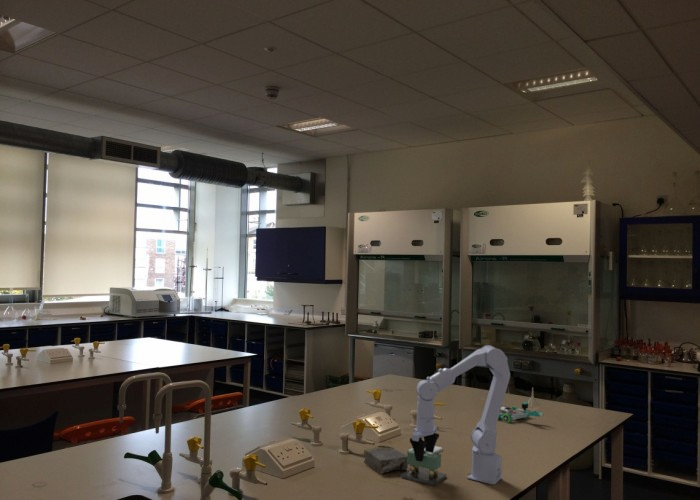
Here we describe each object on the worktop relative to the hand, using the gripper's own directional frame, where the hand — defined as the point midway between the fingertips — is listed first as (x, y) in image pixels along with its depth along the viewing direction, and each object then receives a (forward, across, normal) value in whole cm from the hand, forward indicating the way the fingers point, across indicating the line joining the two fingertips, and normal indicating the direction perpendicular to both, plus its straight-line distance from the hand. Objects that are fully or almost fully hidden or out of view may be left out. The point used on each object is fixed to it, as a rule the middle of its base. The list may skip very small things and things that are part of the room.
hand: (424, 458), depth 191 cm
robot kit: (+7, -98, +2) cm, 99 cm away
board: (+2, 0, 0) cm, 2 cm away
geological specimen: (+7, -1, -16) cm, 17 cm away
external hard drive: (+7, -26, -12) cm, 29 cm away
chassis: (+6, 0, 0) cm, 6 cm away
